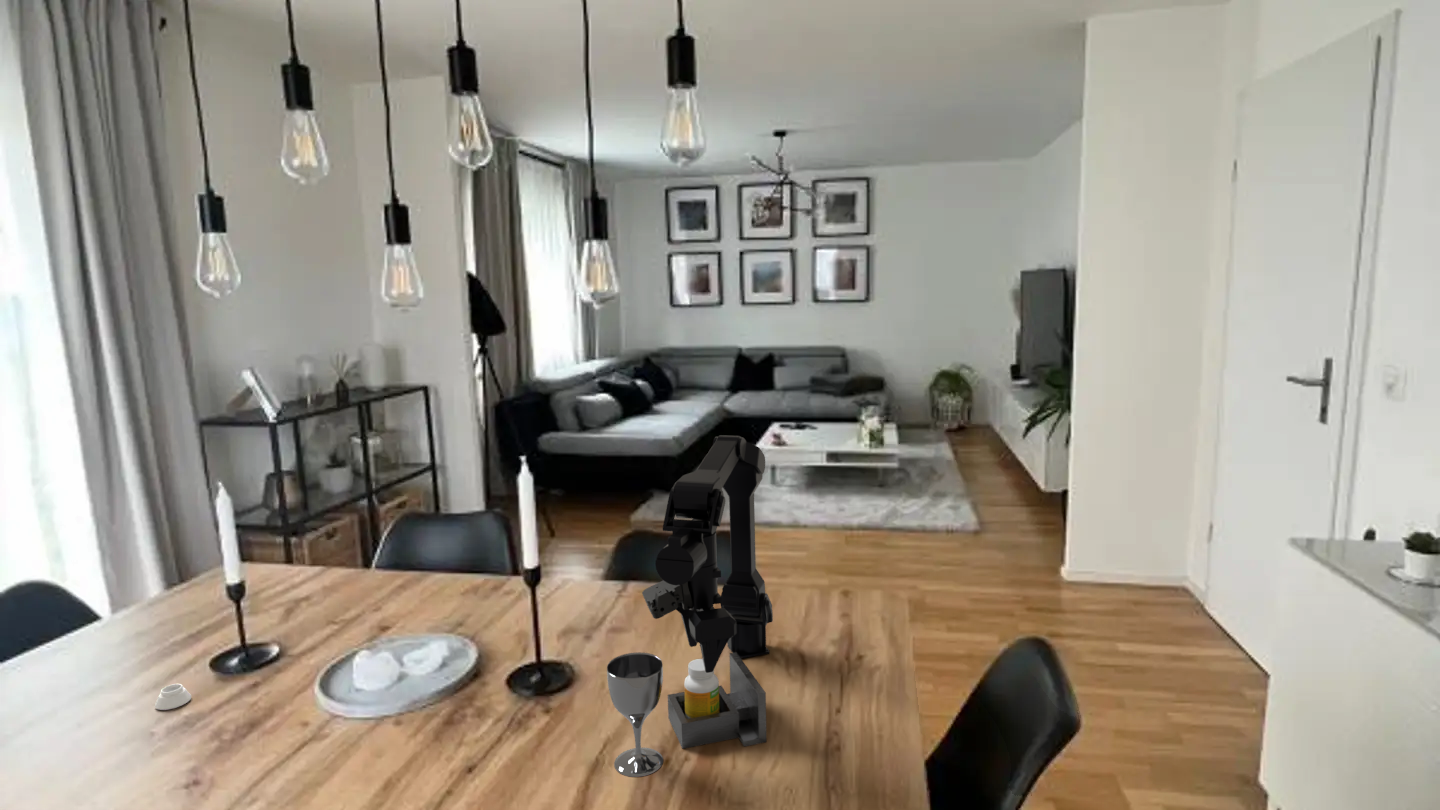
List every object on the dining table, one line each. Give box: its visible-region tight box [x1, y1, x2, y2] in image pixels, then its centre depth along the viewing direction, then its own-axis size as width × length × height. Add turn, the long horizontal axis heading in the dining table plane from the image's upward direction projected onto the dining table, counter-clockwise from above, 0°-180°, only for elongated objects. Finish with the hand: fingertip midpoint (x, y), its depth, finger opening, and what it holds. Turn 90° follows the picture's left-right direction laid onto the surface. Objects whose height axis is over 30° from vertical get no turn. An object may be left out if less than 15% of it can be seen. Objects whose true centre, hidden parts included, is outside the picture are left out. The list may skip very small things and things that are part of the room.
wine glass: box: [606, 652, 664, 778], centre depth 112 cm, size 8×8×15 cm
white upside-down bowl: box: [154, 683, 192, 711], centre depth 133 cm, size 5×3×5 cm
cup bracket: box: [667, 652, 767, 750], centre depth 121 cm, size 12×14×8 cm
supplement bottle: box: [683, 658, 720, 719], centre depth 121 cm, size 5×5×10 cm
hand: (700, 658), depth 120 cm, fingers open, 9 cm apart
